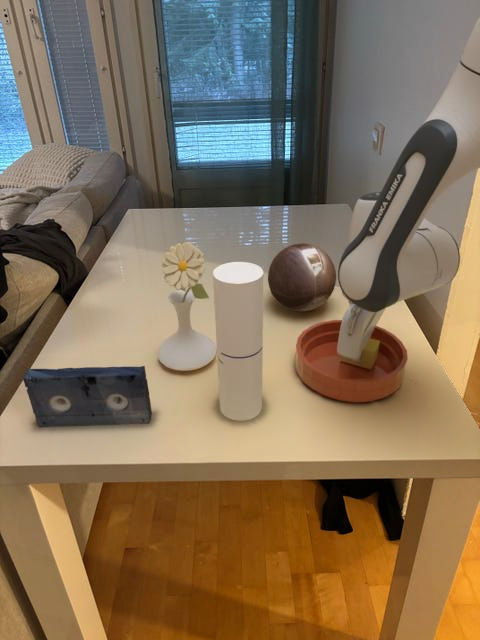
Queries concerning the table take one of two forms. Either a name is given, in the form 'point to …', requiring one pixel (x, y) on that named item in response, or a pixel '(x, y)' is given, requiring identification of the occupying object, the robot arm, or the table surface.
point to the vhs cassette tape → (89, 396)
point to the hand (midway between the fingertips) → (359, 352)
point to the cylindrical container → (239, 338)
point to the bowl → (349, 365)
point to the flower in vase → (185, 310)
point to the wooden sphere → (302, 277)
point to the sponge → (366, 355)
